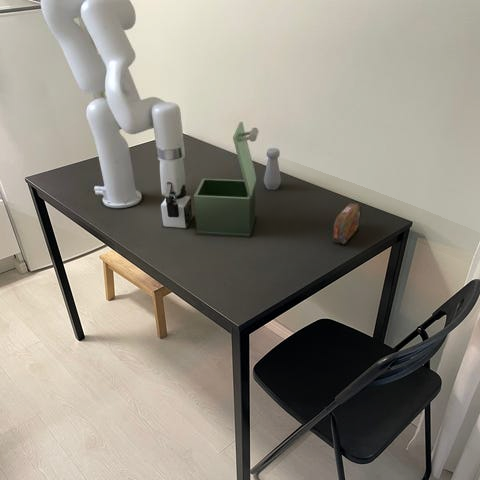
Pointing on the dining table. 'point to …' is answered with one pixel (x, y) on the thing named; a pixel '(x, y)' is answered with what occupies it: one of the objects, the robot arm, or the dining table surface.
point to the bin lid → (245, 155)
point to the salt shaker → (272, 170)
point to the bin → (224, 208)
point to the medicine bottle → (184, 211)
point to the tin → (347, 223)
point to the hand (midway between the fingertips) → (177, 209)
